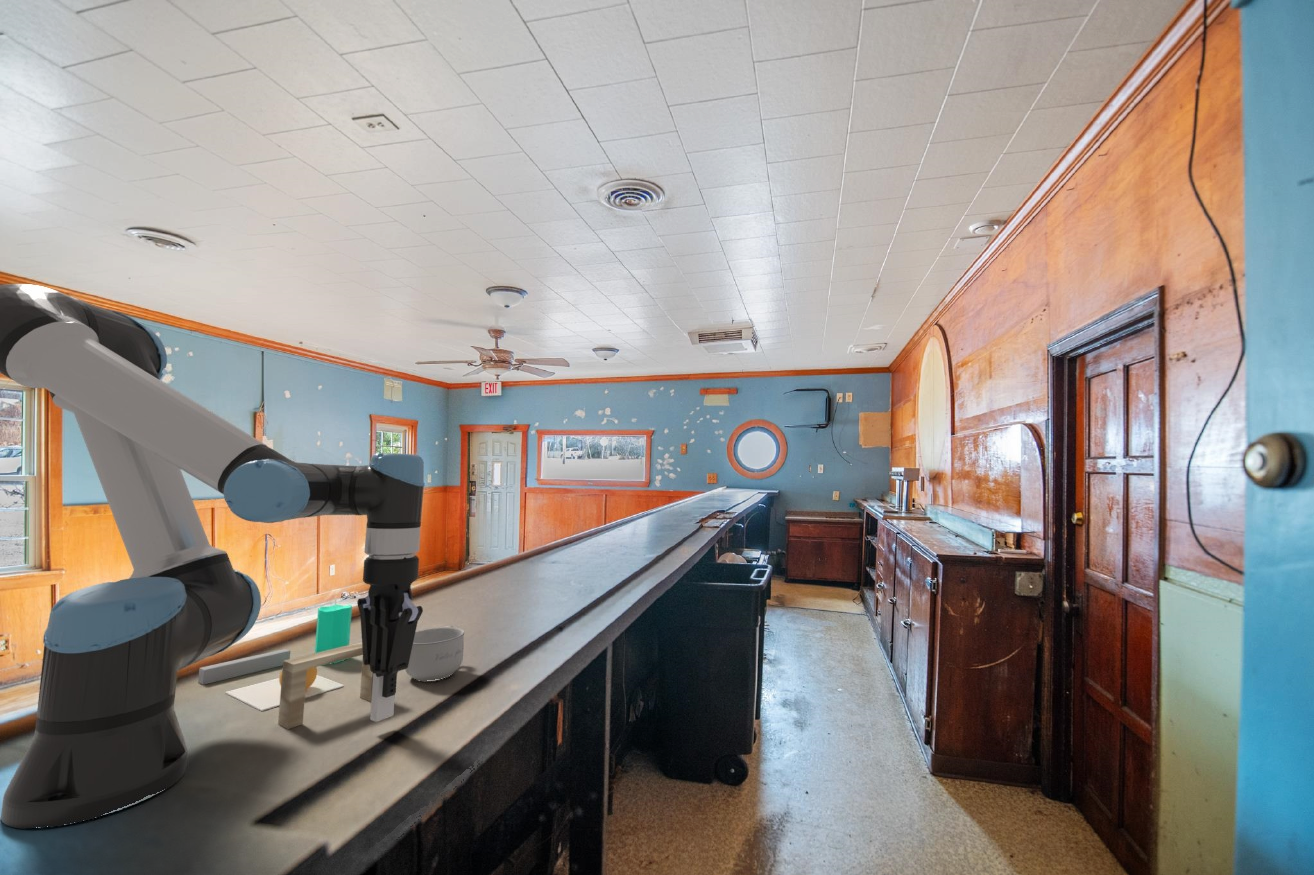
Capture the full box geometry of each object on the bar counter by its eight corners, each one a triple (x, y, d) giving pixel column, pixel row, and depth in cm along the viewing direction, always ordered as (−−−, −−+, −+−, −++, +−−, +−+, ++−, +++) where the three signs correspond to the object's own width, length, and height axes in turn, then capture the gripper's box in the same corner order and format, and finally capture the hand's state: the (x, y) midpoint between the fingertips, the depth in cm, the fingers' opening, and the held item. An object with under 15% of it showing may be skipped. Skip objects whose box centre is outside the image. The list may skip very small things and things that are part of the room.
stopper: (202, 684, 96) (204, 670, 97) (198, 682, 98) (199, 667, 98) (289, 663, 108) (290, 650, 109) (284, 661, 109) (285, 648, 110)
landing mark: (261, 711, 86) (261, 710, 86) (225, 693, 93) (225, 692, 93) (344, 686, 97) (344, 685, 97) (306, 671, 104) (306, 670, 104)
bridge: (381, 697, 93) (385, 642, 94) (288, 729, 80) (293, 664, 81) (371, 693, 94) (374, 639, 95) (278, 724, 82) (283, 660, 83)
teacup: (441, 689, 97) (443, 643, 98) (387, 684, 99) (390, 638, 100) (481, 665, 111) (483, 624, 111) (433, 660, 113) (435, 620, 113)
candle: (354, 658, 112) (358, 599, 113) (323, 666, 107) (328, 604, 108) (338, 653, 116) (342, 595, 117) (308, 660, 110) (312, 600, 112)
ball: (270, 671, 94) (277, 702, 92) (283, 658, 92) (290, 690, 90) (305, 662, 99) (312, 691, 97) (318, 649, 97) (326, 679, 95)
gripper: (441, 556, 83) (432, 719, 81) (389, 549, 89) (380, 699, 87) (395, 562, 76) (384, 738, 74) (343, 554, 83) (331, 715, 81)
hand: (381, 717), depth 81 cm, fingers closed
